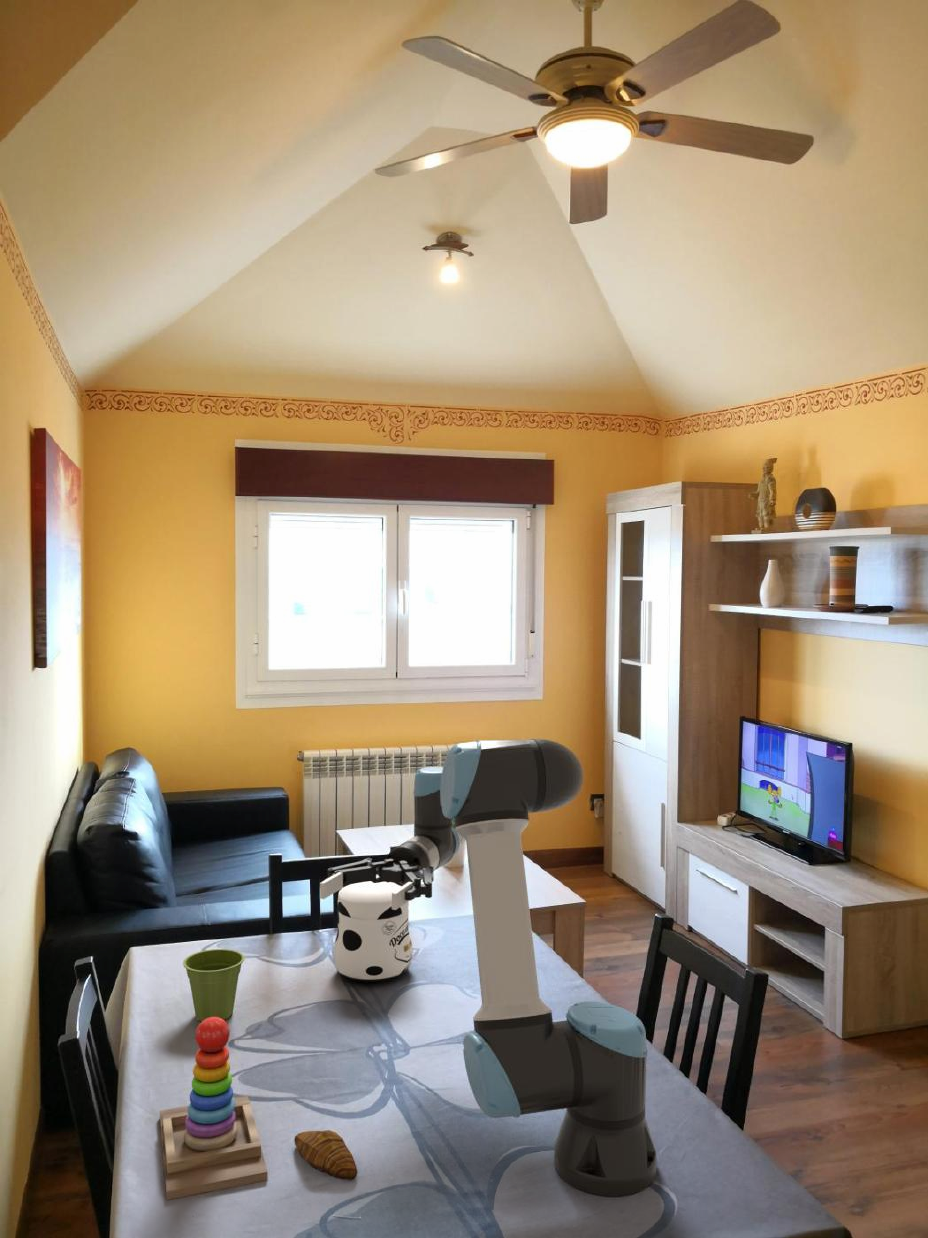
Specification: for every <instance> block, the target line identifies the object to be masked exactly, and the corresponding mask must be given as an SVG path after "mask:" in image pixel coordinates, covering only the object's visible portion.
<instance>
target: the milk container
mask: <svg viewBox="0 0 928 1238" xmlns="http://www.w3.org/2000/svg"><path fill="white" fill-rule="evenodd" d="M400 887H402V886H399V885H397V884H395V883H394V882H389V883H387V882H380V883H373V882H371V881H368V882H362V883H355V884H348V885H345V886H343V888H342V889H340V890H338V897H337V917H336V918H337V933H336V937H335V942H334V945H333V961H334V965H335V969H336V971H337V972H338V973H339V974H340V975H342V977H345V978H347V979H349V980H352V981H357V982H362V983H364V982H365V983H368V982H370V983H378V982H385V981H386V982H387V981H388V980H389V981H390V980H392V979H396V978H398V977H399V976H401V975H403V974H404V973H406V972H407V971H408V970H409V968H410V966H411V964H412V960H413V952H414V951H413V943H412V937H411V935H410V931H409V916H410V915H409V912H410V910H409V901H408V902H406V903H405V904H404V905H402V906H401V907H399V908H398V909H397V910H393V909H392V893H393V892H394V891H396V890H397V889H399V888H400Z"/></svg>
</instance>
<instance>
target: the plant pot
mask: <svg viewBox="0 0 928 1238" xmlns="http://www.w3.org/2000/svg"><path fill="white" fill-rule="evenodd" d="M244 961H245V955H244V954H243V953H242V952H240V951H238V950H234V949H228V948H213V949H205V950H201V951H197V952H194V953H192V954H190V955H188V956H186V957H185V958H184V959H183V961H182V965H183V967H184V968H185V970H186V975H187V978H188V980H189V984H190V991H191V997H192V1003H193V1009H194V1014H195V1018H196V1020H198V1021H201V1022H202V1021H204V1020H205V1019H207V1018H210V1017H219V1018H221V1019H223V1020H224V1021H225V1020H227V1019H229V1018H230V1017H231V1015H232V1014H233V1013H234V1008H235V1001H236V995H237V987H238V981H239V975H240V974H241V968H242V964H243V963H244Z"/></svg>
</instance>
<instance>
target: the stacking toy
mask: <svg viewBox="0 0 928 1238" xmlns="http://www.w3.org/2000/svg"><path fill="white" fill-rule="evenodd" d="M230 1031H231V1030H230V1027H229V1025H228V1023H227V1022H226V1021H225V1020H223V1019H221V1018H219V1017H210V1018H207V1019H205V1020H204V1021H201V1022H200V1023H199V1024H198V1026H197V1028H196V1031H195V1042H196V1044H197V1046H198V1047H199V1049H198V1050H197V1051H196V1053H195V1056H194V1060H195V1064H194V1066H193V1069H192V1074H193V1078H192V1081H191V1088H192V1089H191V1091H190V1094H189V1104H188V1105H187V1106H188V1115H187V1117H186V1120H185V1127H186V1130H185V1132H184V1141H185V1143H186V1144H187V1145H188V1146H189V1147H190V1148H192V1149H195V1150H198V1151H212V1150H217V1149H221V1148H223V1147H225V1146H227V1145H229V1144H230V1143H231V1142H232V1141H233V1140H234V1139H235V1137H236V1135H237V1131H238V1129H237V1125H236V1123H235V1119H236V1116H235V1112H234V1108H235V1102H234V1099H233V1098H234V1090H233V1087H232V1083H233V1077H232V1075H231V1073H230V1070H231V1064H230V1063H229V1061H228V1060H229V1058H230V1051H229V1049H228V1047H226V1045H227V1044H228V1042H229V1038H230V1036H231V1035H230V1033H231V1032H230Z"/></svg>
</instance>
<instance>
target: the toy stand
mask: <svg viewBox="0 0 928 1238" xmlns="http://www.w3.org/2000/svg"><path fill="white" fill-rule="evenodd" d="M232 1098H233V1099H234V1102H235V1108H234V1112H235V1116H236V1119H235V1123H236V1125H237V1129H238V1131H237V1135H236V1137H235V1139H234V1140H233V1141H232V1142H231V1143H230V1144H229V1145H227V1146H225V1147H223V1148H221V1149H217V1150H212V1151H198V1150H195V1149H192V1148H190V1147H189V1146H188V1145H187V1144H186V1143H185V1141H184V1132H185V1130H186V1127H185V1120H186V1117H187V1115H188V1106H189V1105H185V1106H181V1107H175V1108H174V1107H173V1108H168V1109H162V1110H161V1109H160V1110H159V1125H160V1126H159V1127H160V1137H161V1147H162V1159H163V1168H164V1169H163V1170H164V1171H163V1172H164V1180H165V1191H166V1192H165V1193H166V1201H169V1200H175V1199H178V1198H179V1199H180V1198H184V1197H188V1196H193V1195H198V1194H204V1193H209V1192H214V1191H218V1190H219V1191H220V1190H222V1189H228V1188H234V1187H239V1186H245V1185H249V1184H254V1183H258V1182H262V1181H263V1182H264V1181H268V1180H269V1179H268V1168H267V1165H266V1161H265V1158H264V1157H265V1156H264V1153H263V1149H262V1145H261V1144H262V1143H261V1139H260V1135H259V1133H258V1128H257V1125H256V1121H255V1117H254V1114H253V1110H252V1105H251V1102H250V1099H249V1096H248V1095H244V1096H238V1097H232Z"/></svg>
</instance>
